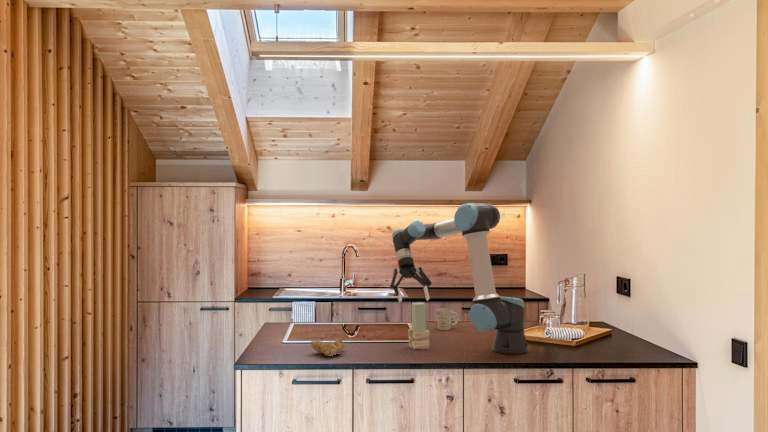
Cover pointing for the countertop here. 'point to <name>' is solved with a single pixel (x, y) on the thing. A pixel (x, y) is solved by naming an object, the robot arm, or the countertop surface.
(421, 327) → the pale green block
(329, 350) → the ginger root
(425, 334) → the slab upper
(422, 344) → the beige wooden block
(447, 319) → the mug
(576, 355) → the countertop surface
